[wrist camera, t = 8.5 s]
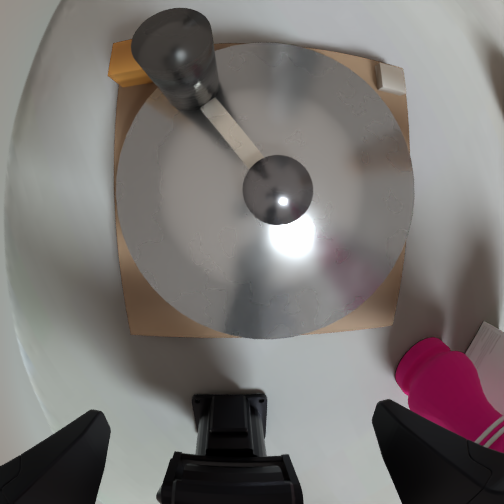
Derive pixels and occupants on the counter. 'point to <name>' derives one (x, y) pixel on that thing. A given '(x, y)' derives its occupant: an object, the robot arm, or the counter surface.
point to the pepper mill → (449, 393)
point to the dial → (259, 182)
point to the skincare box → (489, 363)
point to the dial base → (134, 283)
